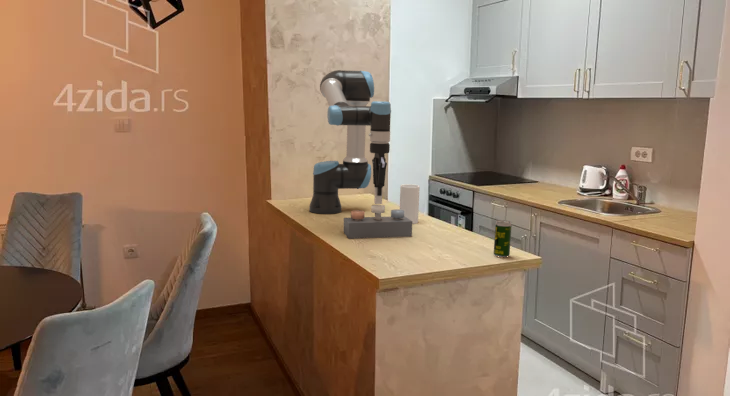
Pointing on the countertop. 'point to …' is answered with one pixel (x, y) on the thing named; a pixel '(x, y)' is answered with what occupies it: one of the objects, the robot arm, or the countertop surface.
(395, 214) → the pale blue knob
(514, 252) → the countertop surface
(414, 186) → the cup
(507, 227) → the beer can
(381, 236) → the key panel
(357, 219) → the terracotta key
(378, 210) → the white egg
